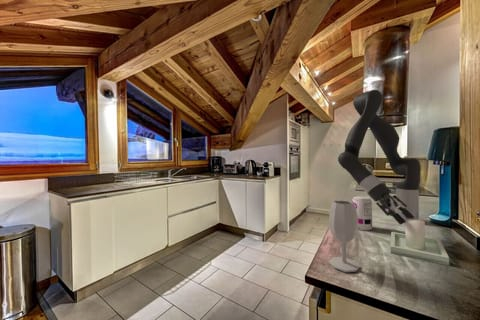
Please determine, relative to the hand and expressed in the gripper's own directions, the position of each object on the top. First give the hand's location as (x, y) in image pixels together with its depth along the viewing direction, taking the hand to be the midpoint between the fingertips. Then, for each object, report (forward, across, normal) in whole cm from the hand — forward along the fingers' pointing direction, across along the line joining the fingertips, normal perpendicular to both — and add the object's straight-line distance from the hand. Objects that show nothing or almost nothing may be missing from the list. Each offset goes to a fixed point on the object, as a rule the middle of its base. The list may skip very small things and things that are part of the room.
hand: (407, 220), depth 78 cm
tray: (+9, 0, +6) cm, 10 cm away
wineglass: (+2, -32, +12) cm, 34 cm away
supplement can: (-7, +8, +22) cm, 24 cm away
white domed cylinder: (+8, 0, +5) cm, 9 cm away
